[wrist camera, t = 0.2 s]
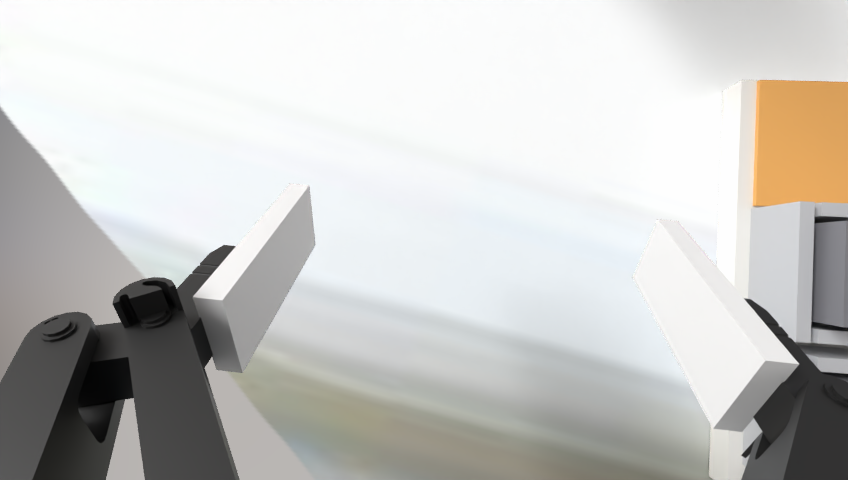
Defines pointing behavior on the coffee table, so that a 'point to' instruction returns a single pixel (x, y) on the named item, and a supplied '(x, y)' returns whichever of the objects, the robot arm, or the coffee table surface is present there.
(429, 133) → the coffee table surface
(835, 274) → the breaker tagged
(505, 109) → the coffee table surface
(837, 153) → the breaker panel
